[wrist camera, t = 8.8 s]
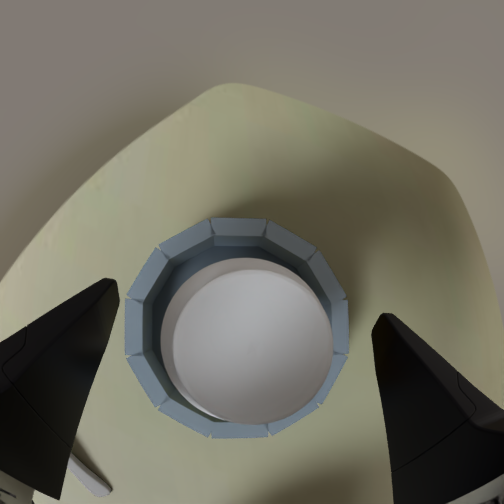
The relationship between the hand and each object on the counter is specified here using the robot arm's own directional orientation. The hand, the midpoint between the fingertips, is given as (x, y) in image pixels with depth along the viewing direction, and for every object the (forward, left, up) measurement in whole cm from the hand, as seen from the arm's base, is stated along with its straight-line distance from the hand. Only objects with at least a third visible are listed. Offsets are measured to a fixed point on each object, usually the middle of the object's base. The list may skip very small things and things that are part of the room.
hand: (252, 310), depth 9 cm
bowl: (-1, 0, -9) cm, 9 cm away
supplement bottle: (-1, 0, -8) cm, 8 cm away
